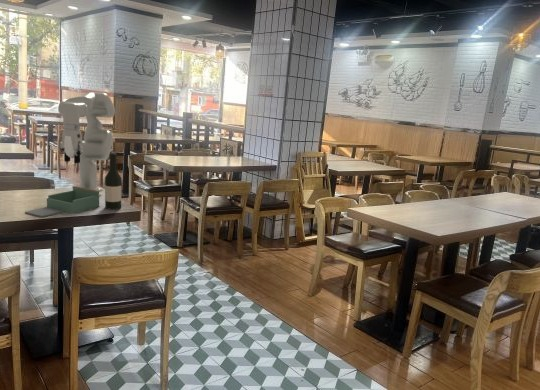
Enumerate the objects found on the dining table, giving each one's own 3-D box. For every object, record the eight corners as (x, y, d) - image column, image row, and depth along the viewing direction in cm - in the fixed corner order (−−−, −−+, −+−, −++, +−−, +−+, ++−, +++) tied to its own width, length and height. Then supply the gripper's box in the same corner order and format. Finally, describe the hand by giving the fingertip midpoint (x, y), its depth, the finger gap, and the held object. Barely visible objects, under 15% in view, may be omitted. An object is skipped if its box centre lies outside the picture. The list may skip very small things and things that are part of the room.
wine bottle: (119, 209, 234) (119, 154, 228) (103, 209, 233) (103, 153, 227) (122, 206, 242) (122, 152, 236) (106, 205, 241) (106, 151, 235)
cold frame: (74, 201, 245) (74, 186, 243) (99, 206, 238) (99, 190, 236) (46, 207, 228) (46, 191, 226) (72, 213, 221) (72, 196, 219)
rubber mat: (45, 208, 226) (45, 207, 226) (62, 212, 222) (62, 210, 222) (24, 213, 216) (24, 211, 215) (42, 217, 211) (42, 215, 211)
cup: (66, 176, 224) (65, 136, 220) (63, 174, 230) (62, 134, 225) (81, 176, 229) (80, 136, 224) (78, 173, 234) (77, 134, 230)
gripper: (89, 128, 224) (90, 163, 228) (64, 125, 230) (65, 159, 234) (78, 129, 217) (79, 165, 221) (52, 126, 224) (54, 160, 228)
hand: (72, 161), depth 228 cm, fingers closed on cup, 6 cm apart
